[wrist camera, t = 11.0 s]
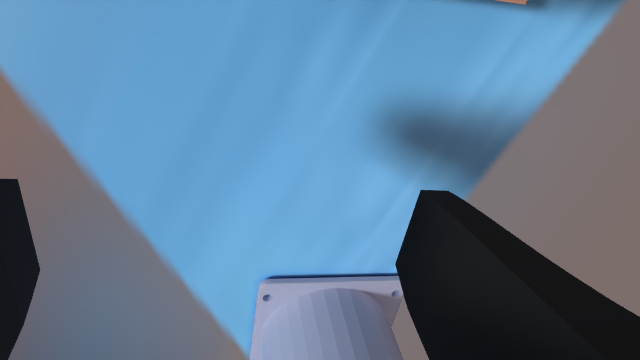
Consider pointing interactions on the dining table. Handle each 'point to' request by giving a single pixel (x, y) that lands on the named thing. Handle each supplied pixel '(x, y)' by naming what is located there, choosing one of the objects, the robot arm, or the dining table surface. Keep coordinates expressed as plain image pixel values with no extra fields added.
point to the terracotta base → (515, 1)
